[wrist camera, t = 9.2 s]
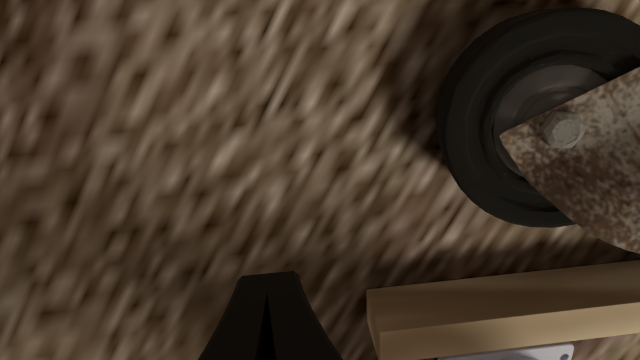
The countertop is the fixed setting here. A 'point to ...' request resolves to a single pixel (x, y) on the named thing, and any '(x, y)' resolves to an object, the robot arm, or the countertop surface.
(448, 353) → the frame
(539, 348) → the robot arm
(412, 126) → the countertop surface
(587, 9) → the caster wheel
